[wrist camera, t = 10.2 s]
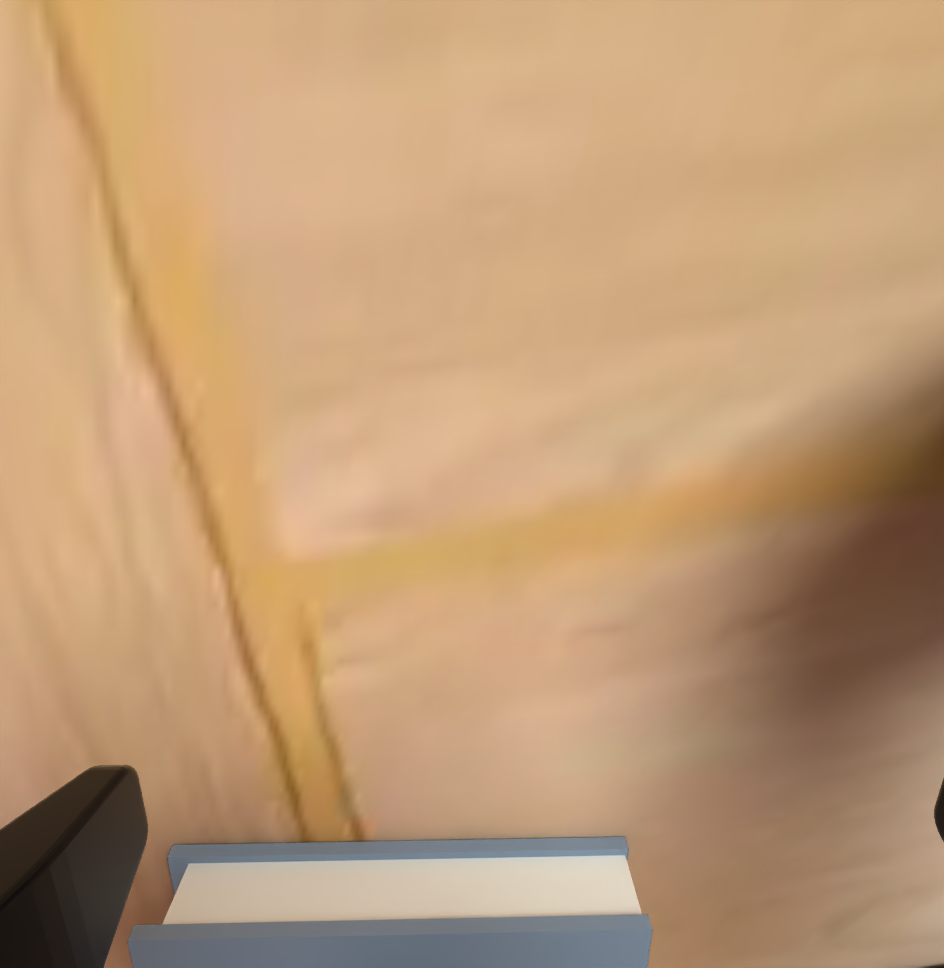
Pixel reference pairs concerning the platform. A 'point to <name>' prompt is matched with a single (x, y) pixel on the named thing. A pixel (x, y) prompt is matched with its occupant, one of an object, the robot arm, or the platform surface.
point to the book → (400, 906)
